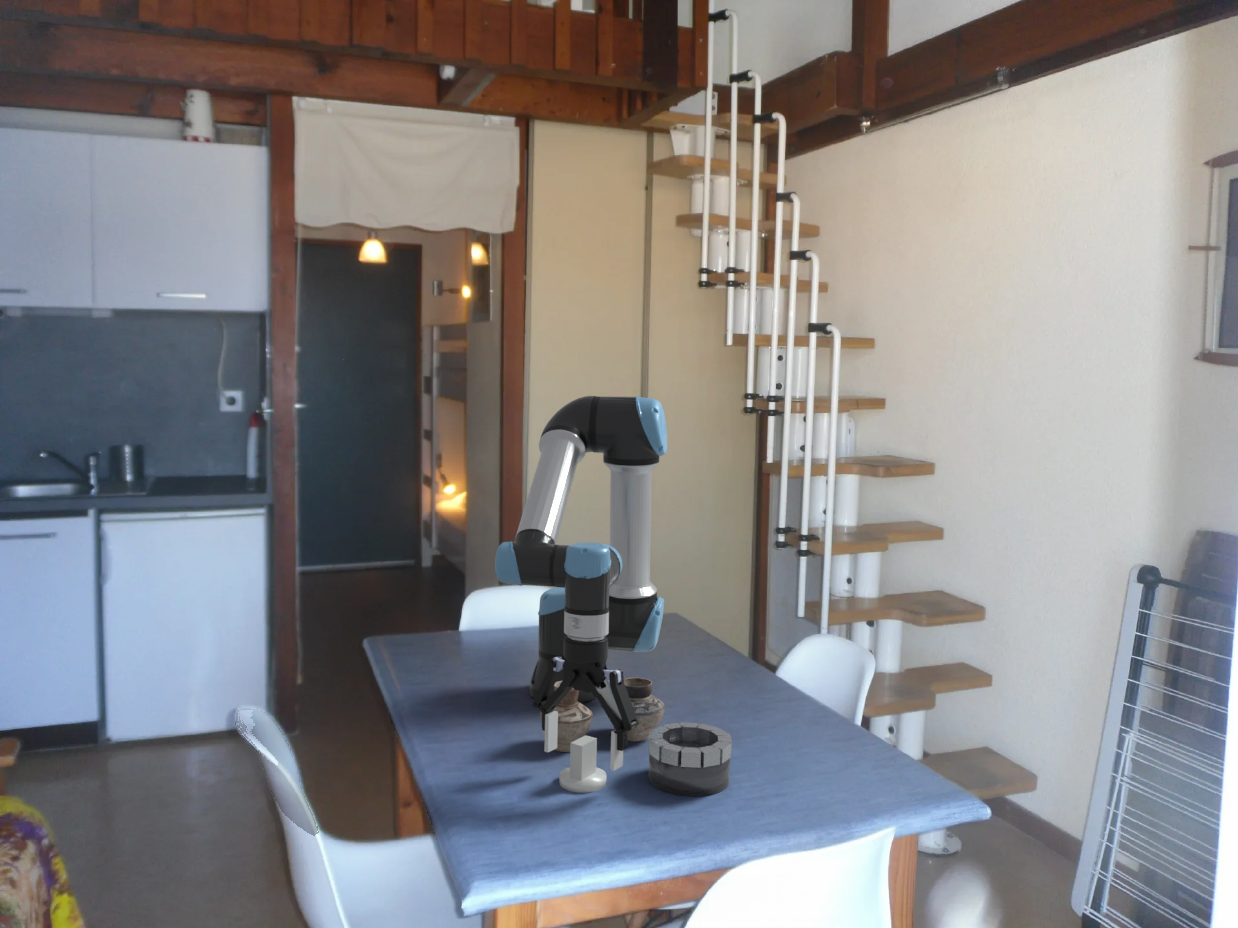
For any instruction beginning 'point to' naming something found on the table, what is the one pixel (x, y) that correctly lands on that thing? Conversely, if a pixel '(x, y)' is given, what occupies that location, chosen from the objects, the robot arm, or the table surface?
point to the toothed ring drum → (689, 759)
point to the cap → (583, 768)
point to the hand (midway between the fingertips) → (583, 758)
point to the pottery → (578, 717)
